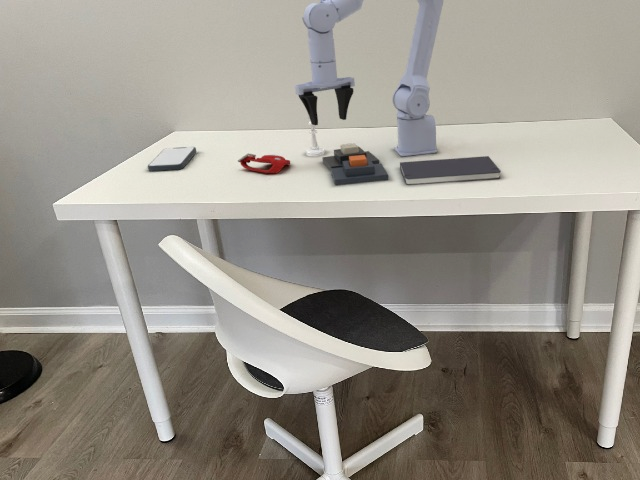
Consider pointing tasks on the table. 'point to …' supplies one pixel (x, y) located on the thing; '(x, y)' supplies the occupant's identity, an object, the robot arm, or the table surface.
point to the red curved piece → (273, 159)
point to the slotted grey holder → (358, 173)
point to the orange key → (357, 160)
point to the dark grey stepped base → (345, 158)
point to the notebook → (449, 170)
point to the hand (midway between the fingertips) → (329, 121)
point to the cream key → (349, 148)
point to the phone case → (172, 159)
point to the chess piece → (314, 143)
